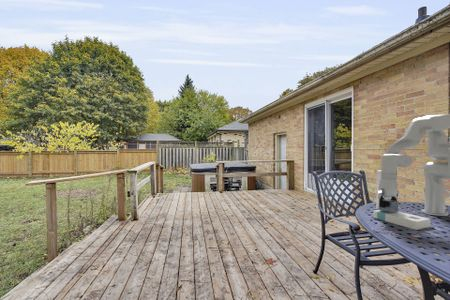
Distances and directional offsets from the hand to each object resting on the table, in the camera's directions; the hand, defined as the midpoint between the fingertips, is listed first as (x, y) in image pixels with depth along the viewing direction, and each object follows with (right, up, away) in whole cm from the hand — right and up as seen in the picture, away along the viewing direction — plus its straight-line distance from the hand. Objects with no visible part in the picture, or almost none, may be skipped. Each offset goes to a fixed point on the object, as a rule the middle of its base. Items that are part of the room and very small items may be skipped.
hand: (388, 206), depth 139 cm
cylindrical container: (+10, -7, +21) cm, 24 cm away
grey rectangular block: (0, -7, 0) cm, 7 cm away
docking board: (+3, -7, -6) cm, 9 cm away
